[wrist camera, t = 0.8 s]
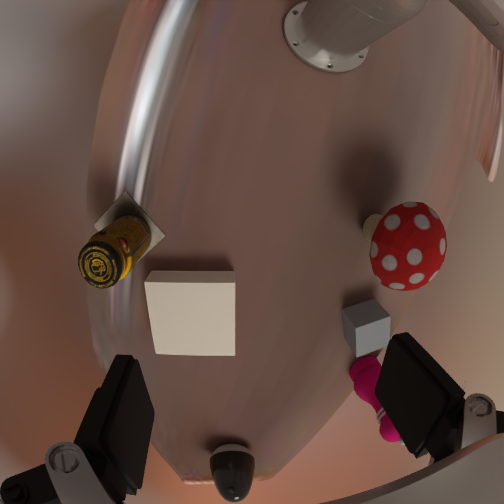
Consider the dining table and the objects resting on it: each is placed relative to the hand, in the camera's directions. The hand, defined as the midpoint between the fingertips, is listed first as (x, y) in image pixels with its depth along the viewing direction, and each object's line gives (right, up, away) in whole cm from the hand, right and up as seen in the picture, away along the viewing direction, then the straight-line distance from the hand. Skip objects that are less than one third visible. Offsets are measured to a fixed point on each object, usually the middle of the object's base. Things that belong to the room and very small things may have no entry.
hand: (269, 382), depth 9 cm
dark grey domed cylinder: (-6, -41, +46) cm, 62 cm away
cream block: (-9, -4, +32) cm, 34 cm away
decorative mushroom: (+17, +9, +31) cm, 36 cm away
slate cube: (+17, -7, +36) cm, 40 cm away
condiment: (-18, +8, +28) cm, 34 cm away
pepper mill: (+21, -18, +40) cm, 49 cm away
